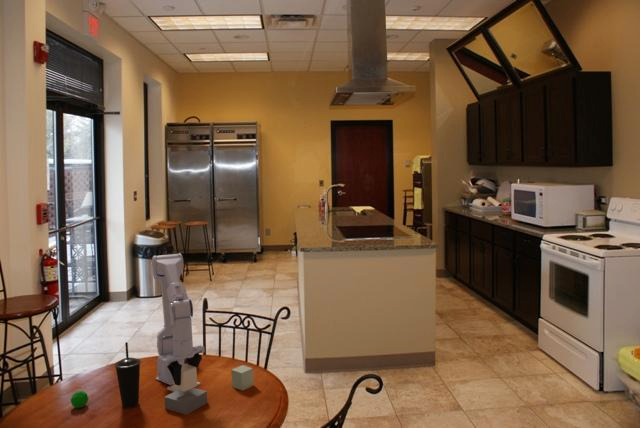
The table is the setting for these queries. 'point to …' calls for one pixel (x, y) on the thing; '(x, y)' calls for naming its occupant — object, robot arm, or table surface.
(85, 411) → the table surface
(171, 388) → the tile
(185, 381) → the cream block
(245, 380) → the sage block
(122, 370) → the drinking cup
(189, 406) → the gray block
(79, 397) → the green ball
